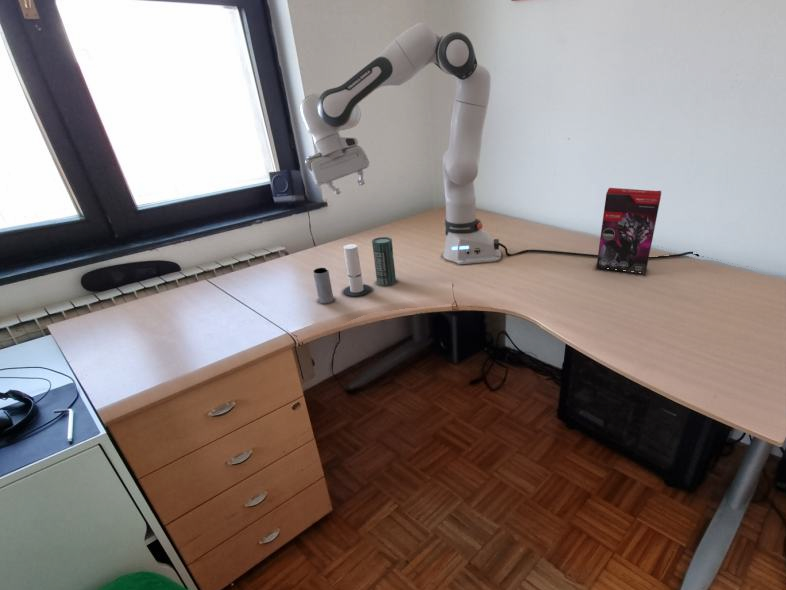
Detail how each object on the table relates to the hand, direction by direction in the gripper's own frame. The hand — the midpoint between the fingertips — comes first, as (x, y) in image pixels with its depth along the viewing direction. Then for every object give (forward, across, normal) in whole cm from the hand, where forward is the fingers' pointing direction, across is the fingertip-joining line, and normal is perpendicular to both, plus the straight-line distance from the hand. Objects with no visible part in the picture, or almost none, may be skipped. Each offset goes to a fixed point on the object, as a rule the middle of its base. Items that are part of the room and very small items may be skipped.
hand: (350, 189), depth 155 cm
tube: (+30, -16, -7) cm, 35 cm away
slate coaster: (+31, -16, -7) cm, 35 cm away
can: (+33, -5, -7) cm, 34 cm away
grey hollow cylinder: (+29, -27, -8) cm, 40 cm away
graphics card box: (+61, +63, -44) cm, 99 cm away
